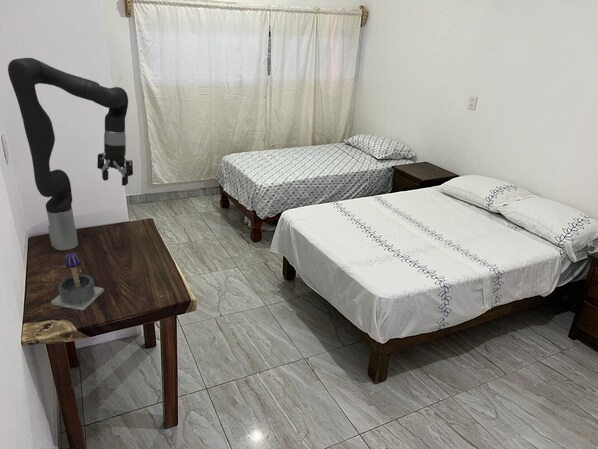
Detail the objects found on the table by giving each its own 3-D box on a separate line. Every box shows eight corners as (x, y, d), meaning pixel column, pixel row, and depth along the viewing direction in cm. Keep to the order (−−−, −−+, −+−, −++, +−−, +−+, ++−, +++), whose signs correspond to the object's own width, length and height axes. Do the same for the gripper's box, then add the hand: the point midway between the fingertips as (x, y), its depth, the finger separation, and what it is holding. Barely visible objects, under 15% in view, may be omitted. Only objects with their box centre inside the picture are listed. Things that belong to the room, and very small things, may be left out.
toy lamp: (70, 299, 149) (61, 258, 142) (73, 291, 153) (64, 251, 146) (85, 298, 151) (77, 257, 143) (87, 290, 155) (80, 250, 147)
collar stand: (51, 304, 148) (48, 289, 146) (74, 285, 159) (71, 271, 156) (83, 310, 146) (80, 295, 144) (104, 290, 157) (101, 276, 154)
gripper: (91, 139, 160) (92, 180, 167) (125, 147, 158) (124, 189, 164) (105, 136, 167) (106, 176, 173) (137, 144, 164) (136, 184, 170)
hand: (115, 182), depth 168 cm, fingers open, 8 cm apart
